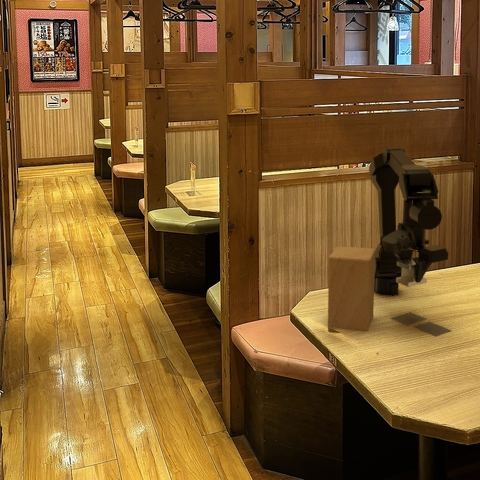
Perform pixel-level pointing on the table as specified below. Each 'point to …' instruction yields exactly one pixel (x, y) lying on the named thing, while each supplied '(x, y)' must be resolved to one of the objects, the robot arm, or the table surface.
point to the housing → (408, 273)
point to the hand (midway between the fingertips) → (411, 279)
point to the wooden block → (351, 288)
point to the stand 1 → (408, 318)
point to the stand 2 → (432, 328)
